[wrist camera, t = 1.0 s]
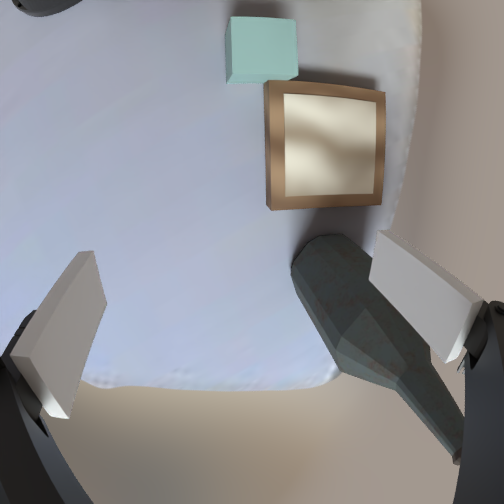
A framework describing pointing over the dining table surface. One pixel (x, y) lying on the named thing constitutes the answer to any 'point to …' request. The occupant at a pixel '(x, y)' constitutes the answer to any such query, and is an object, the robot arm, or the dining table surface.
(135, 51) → the dining table surface
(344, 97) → the picture frame
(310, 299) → the bottle
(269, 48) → the cube
